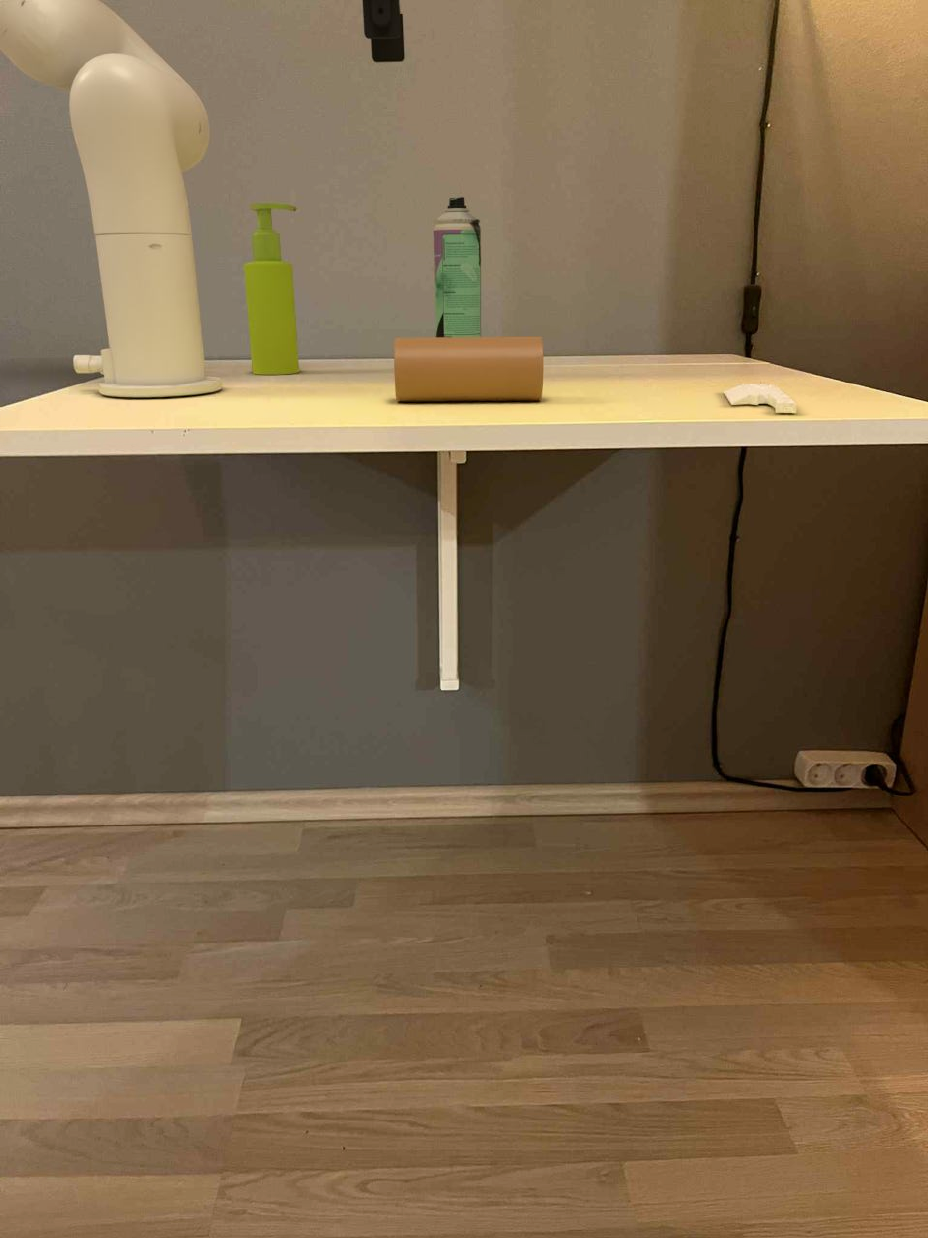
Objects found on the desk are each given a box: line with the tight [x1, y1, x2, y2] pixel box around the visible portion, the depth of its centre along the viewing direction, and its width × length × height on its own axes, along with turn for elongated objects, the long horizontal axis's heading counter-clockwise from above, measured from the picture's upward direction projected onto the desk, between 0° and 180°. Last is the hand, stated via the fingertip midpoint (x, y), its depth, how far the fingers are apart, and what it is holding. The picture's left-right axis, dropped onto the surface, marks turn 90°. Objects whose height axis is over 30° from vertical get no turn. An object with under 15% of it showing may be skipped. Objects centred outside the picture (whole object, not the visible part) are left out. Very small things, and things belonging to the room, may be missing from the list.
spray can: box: [433, 196, 482, 337], centre depth 112 cm, size 6×6×20 cm
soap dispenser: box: [243, 202, 300, 376], centre depth 119 cm, size 6×7×20 cm
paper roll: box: [393, 336, 544, 403], centre depth 92 cm, size 14×6×6 cm, turn 90°
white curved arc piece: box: [723, 382, 797, 414], centre depth 89 cm, size 5×15×1 cm, turn 169°
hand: (385, 49), depth 89 cm, fingers open, 9 cm apart
